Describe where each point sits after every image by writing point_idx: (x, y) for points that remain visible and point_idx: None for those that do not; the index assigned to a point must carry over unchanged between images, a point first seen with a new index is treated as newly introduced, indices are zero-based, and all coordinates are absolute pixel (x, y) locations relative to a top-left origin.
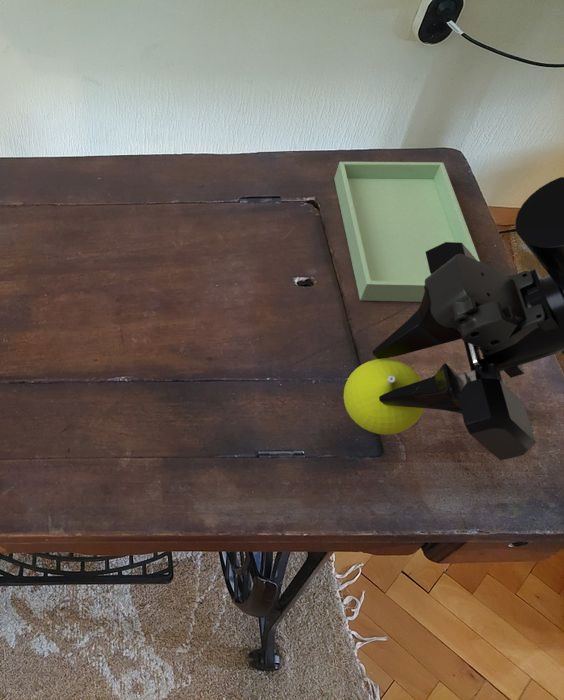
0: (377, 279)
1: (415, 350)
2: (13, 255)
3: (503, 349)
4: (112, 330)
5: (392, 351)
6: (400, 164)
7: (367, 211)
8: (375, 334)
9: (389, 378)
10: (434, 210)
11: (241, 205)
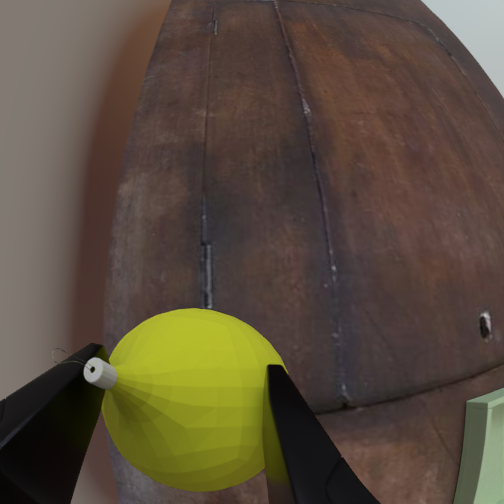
0: (491, 418)
1: (268, 495)
2: (417, 59)
3: None
4: (367, 106)
5: (265, 424)
6: None
7: None
8: (418, 425)
9: (97, 364)
10: None
11: None
